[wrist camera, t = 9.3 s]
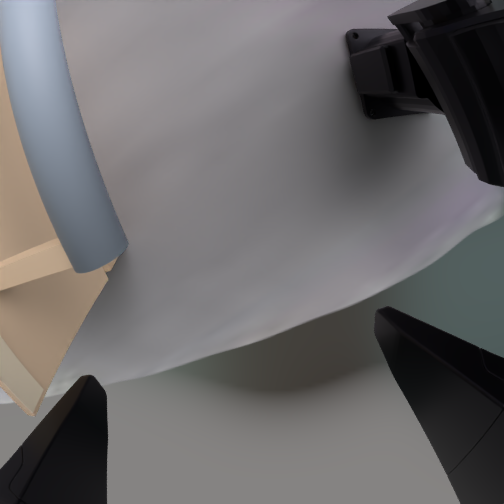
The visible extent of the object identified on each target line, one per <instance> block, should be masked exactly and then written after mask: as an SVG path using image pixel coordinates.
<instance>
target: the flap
mask: <svg viewBox="0 0 504 504" xmlns="http://www.w3.org/2000/svg"><path fill="white" fill-rule="evenodd" d="M127 247H128V240H127V238H126V236H125V234H124V231H123V229H122V227H121V224H120V222H119V219H118V217H117V215H116V212H115V210H114V207H113V205H112V202H111V200H110V197H109V195H108V192H107V190H106V187H105V184H104V182H103V179H102V176H101V174H100V171H99V168H98V165H97V162H96V160H95V157H94V154H93V151H92V148H91V145H90V142H89V139H88V136H87V133H86V130H85V127H84V123H83V120H82V117H81V113H80V110H79V107H78V103H77V100H76V96H75V92H74V89H73V85H72V81H71V77H70V73H69V69H68V65H67V60H66V56H65V51H64V47H63V42H62V37H61V32H60V26H59V21H58V15H57V9H56V2H55V0H0V387H1V388H2V389H3V390H4V391H5V392H6V393H7V394H8V395H9V396H10V397H11V399H12V400H13V401H14V402H15V403H16V404H17V405H18V406H19V407H21V409H22V410H23V411H24V412H25V413H26V414H27V415H30V416H36V414H37V412H38V410H39V407H40V405H41V403H42V401H43V399H44V396H45V394H46V392H47V390H48V388H49V386H50V384H51V382H52V380H53V378H54V375H55V373H56V371H57V369H58V367H59V366H60V364H61V362H62V360H63V358H64V356H65V354H66V352H67V350H68V348H69V346H70V345H71V343H72V341H73V339H74V337H75V335H76V334H77V332H78V330H79V328H80V326H81V325H82V323H83V321H84V319H85V318H86V316H87V314H88V312H89V311H90V309H91V307H92V306H93V304H94V302H95V301H96V299H97V297H98V296H99V294H100V292H101V291H102V289H103V288H104V286H105V284H106V283H107V281H108V280H109V279H108V277H107V275H106V273H105V271H104V269H103V267H102V266H104V265H106V264H108V263H109V262H111V261H113V260H114V259H115V258H117V257H118V256H119V255H121V254H122V253H123V252H124V251H125V250H126V248H127Z"/></svg>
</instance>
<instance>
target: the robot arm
mask: <svg viewBox="0 0 504 504" xmlns="http://www.w3.org/2000/svg"><path fill="white" fill-rule="evenodd" d="M387 17H388V19H389V20H390V21H391V23H392V24H393V25H395V26H396V27H397V29H352V30H349V31H348V32H347V33H346V38H347V42H348V45H349V49H350V53H351V56H350V61H351V65H352V69H353V73H354V77H355V82H356V86H357V91H358V92H359V93H360V95H361V100H362V105H363V110H364V114H365V116H366V117H367V118H368V119H380V118H387V117H394V116H401V115H409V114H418V113H435V114H443V115H445V116H446V118H447V120H448V122H449V124H450V127H451V129H452V131H453V134H454V136H455V138H456V141H457V143H458V146H459V148H460V151H461V153H462V156H463V158H464V161H465V164H466V165H467V166H468V167H469V168H470V169H471V170H472V171H473V172H474V173H476V174H477V176H478V179H479V180H481V181H483V182H486V183H488V184H491V185H495V186H500V187H504V0H417V1H415V2H413V3H412V4H410V5H408V6H406V7H404V8H402V9H400V10H398V11H396V12H394V13H393V14H391V15H389V16H387ZM352 34H354V35H355V36H356V39H354V38H353V37H352ZM371 109H372V110H373V115H371V114H370V110H371ZM374 333H375V336H376V339H377V341H378V343H379V345H380V347H381V350H382V352H383V354H384V356H385V359H386V361H387V363H388V366H389V368H390V370H391V372H392V374H393V376H394V378H395V380H396V382H397V384H398V385H399V387H400V389H401V390H402V392H403V394H404V396H405V397H406V399H407V401H408V403H409V405H410V406H411V408H412V410H413V411H414V413H415V415H416V417H417V419H418V421H419V423H420V424H421V426H422V428H423V430H424V432H425V434H426V435H427V437H428V439H429V441H430V443H431V445H432V447H433V449H434V451H435V452H436V455H437V456H438V458H439V460H440V462H441V464H442V466H443V468H444V470H445V472H446V474H447V475H448V478H449V481H450V482H451V485H452V487H453V489H454V491H455V493H456V495H457V497H458V499H459V501H460V504H504V358H503V357H500V356H498V355H496V354H493V353H491V352H489V351H487V350H484V349H482V348H479V347H477V346H476V345H473V344H471V343H469V342H467V341H465V340H462V339H460V338H458V337H456V336H454V335H452V334H449V333H447V332H445V331H443V330H440V329H438V328H436V327H434V326H432V325H429V324H427V323H425V322H423V321H420V320H418V319H416V318H414V317H412V316H410V315H407V314H405V313H403V312H401V311H398V310H396V309H394V308H392V307H389V306H386V307H383V308H380V309H378V310H376V313H375V324H374ZM107 446H108V423H107V395H106V392H105V390H104V389H103V387H102V386H101V385H100V383H99V382H98V381H97V379H96V378H95V377H94V376H93V375H84V376H81V377H80V378H79V379H78V380H77V381H76V382H75V383H74V385H73V386H72V387H71V388H70V389H69V390H68V391H67V392H66V394H65V395H64V396H63V397H62V398H61V399H60V400H59V402H58V403H57V404H56V405H55V406H54V407H53V408H52V410H51V411H50V412H49V413H48V414H47V415H46V416H45V418H44V419H43V420H42V421H41V422H40V424H39V425H38V426H37V427H36V428H35V429H34V431H33V432H32V433H31V434H30V435H29V436H28V438H27V439H26V440H25V441H24V443H23V444H22V445H21V446H20V447H19V448H18V450H17V451H16V452H15V453H14V454H13V456H12V457H11V458H10V459H9V460H8V461H7V463H6V464H5V465H4V466H3V467H2V468H1V469H0V504H107V449H108V447H107Z"/></svg>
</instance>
